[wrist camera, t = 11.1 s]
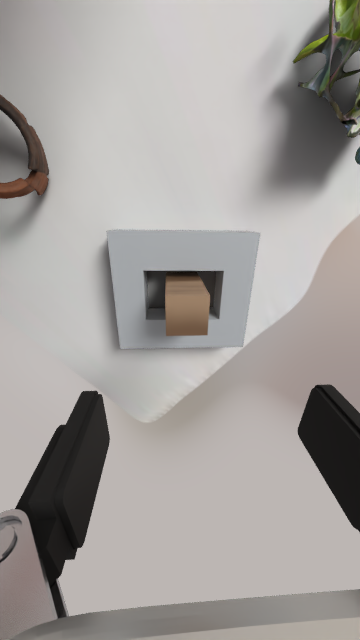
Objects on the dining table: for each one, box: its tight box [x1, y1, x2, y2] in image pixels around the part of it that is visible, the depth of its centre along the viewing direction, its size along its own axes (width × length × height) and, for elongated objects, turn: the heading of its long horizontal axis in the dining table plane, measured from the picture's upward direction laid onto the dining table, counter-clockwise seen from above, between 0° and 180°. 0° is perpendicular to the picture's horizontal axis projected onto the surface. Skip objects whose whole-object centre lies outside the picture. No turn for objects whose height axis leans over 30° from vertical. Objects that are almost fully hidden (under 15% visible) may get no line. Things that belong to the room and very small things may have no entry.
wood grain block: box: [165, 272, 210, 336], centre depth 25 cm, size 4×4×10 cm
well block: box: [107, 230, 260, 349], centre depth 28 cm, size 14×16×4 cm
